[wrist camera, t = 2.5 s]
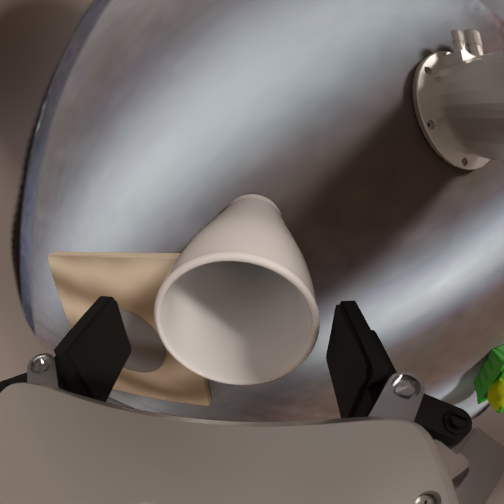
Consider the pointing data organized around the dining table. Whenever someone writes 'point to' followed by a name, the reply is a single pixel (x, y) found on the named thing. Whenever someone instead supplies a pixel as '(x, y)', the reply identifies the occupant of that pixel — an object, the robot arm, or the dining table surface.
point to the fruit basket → (492, 380)
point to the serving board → (129, 317)
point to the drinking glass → (239, 298)
